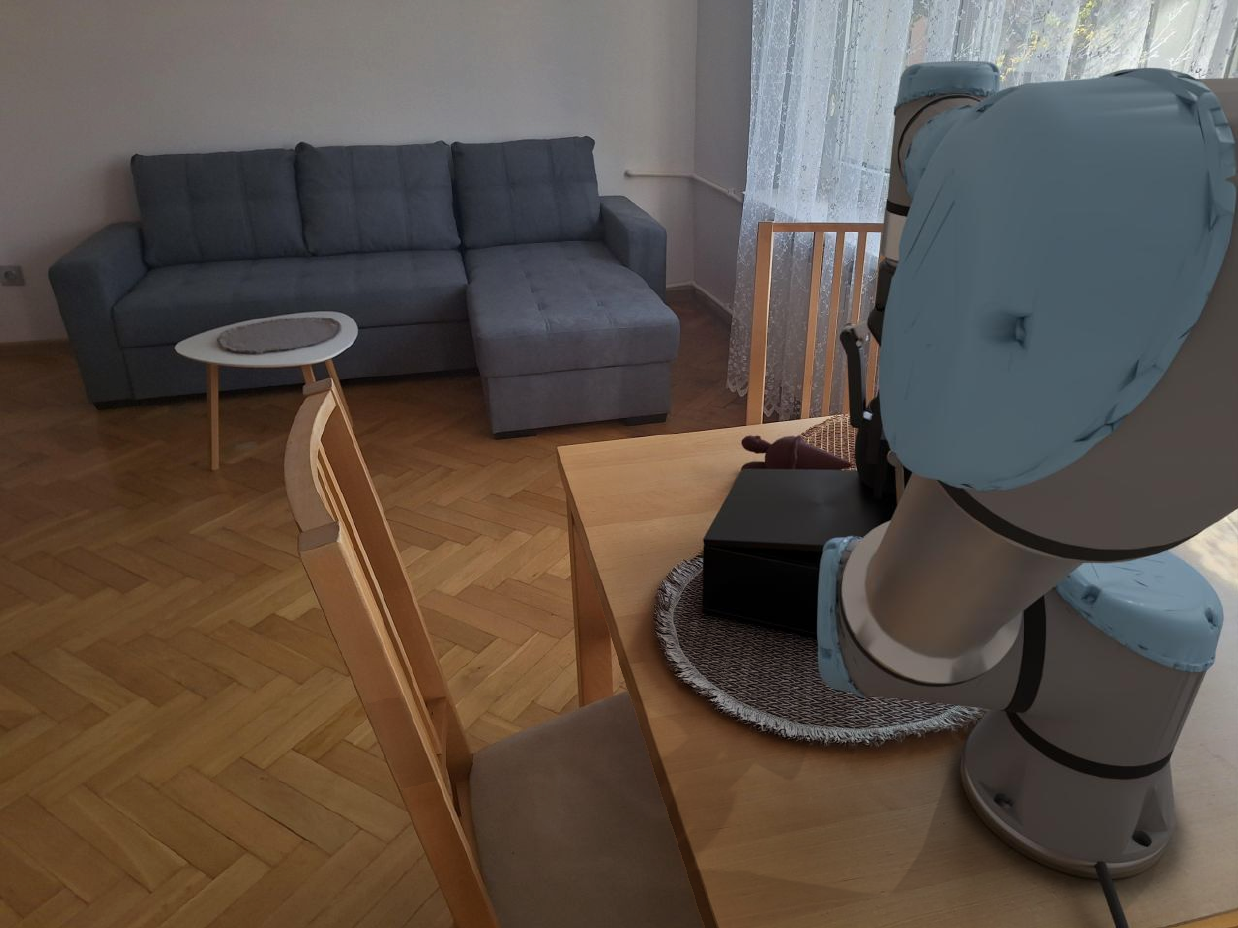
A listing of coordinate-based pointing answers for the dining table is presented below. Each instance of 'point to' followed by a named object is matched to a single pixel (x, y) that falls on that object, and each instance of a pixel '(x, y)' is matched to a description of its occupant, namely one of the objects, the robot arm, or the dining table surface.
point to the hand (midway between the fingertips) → (893, 493)
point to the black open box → (763, 587)
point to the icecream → (791, 455)
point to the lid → (800, 508)
